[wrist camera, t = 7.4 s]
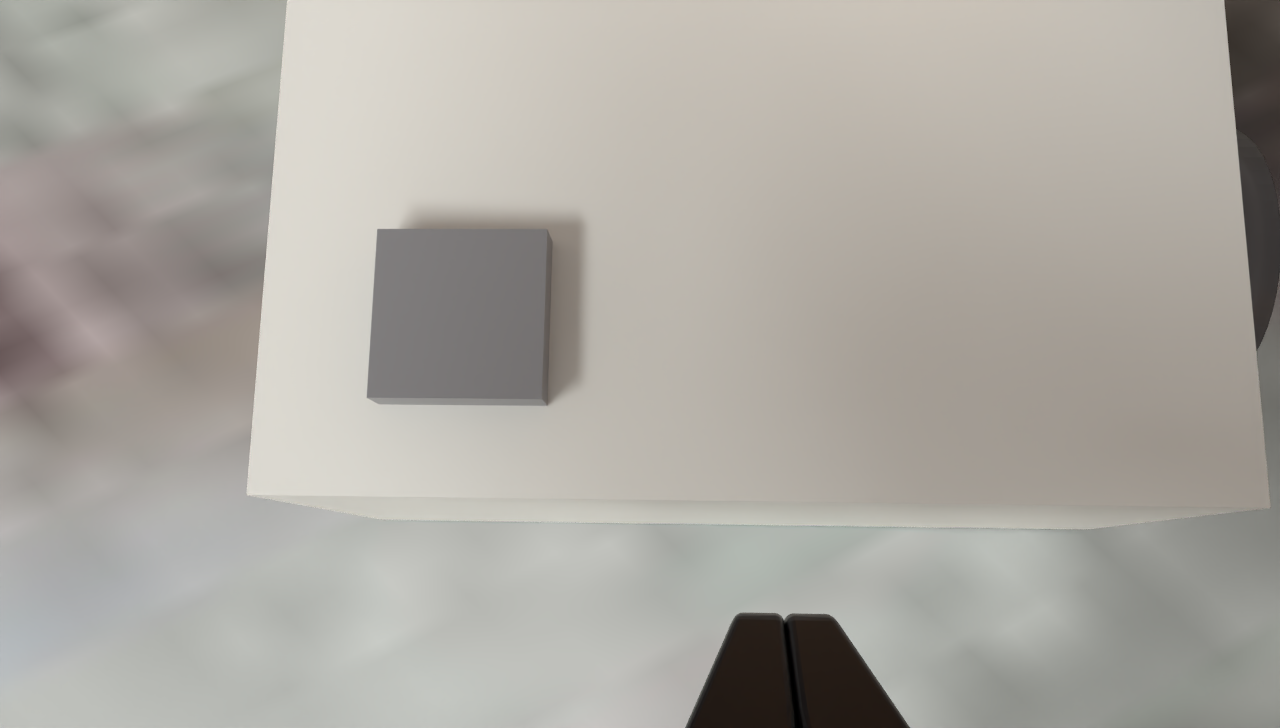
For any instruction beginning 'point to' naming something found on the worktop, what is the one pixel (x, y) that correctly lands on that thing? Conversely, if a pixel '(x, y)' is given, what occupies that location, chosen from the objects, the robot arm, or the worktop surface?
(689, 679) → the worktop surface
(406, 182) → the white box
